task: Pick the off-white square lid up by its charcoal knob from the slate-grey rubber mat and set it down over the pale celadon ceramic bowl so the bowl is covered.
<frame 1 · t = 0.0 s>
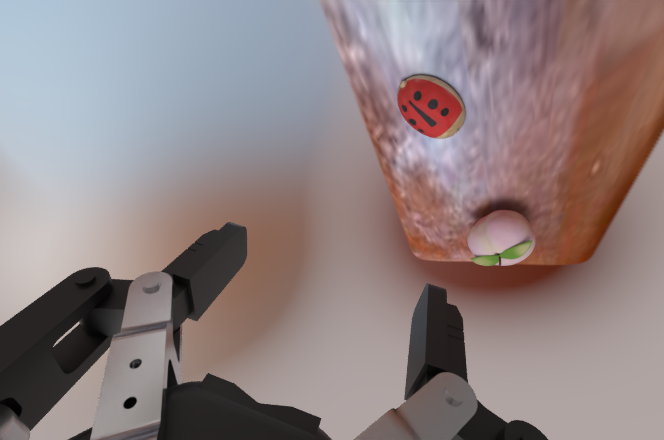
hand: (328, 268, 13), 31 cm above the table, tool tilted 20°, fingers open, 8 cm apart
ladybug figurine: (432, 102, 40), on the table
decorative fruit: (502, 212, 50), on the table
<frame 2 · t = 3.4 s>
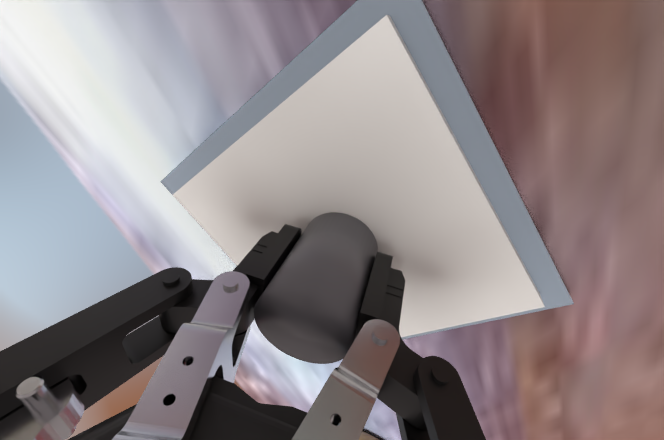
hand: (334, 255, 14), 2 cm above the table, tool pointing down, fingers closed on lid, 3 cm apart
lid: (344, 235, 15), point 1 cm above the table, touching gripper, mat
mat: (347, 229, 16), on the table
when the fingers open (9 cm above the table, at t = 8.8 s): lid drops 1 cm, resting on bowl.
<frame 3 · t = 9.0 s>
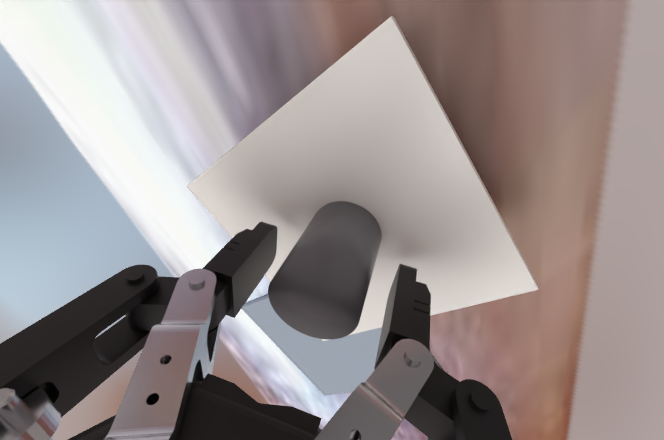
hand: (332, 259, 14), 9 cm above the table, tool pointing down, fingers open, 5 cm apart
lid: (349, 224, 16), point 6 cm above the table, touching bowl
mat: (339, 337, 31), on the table
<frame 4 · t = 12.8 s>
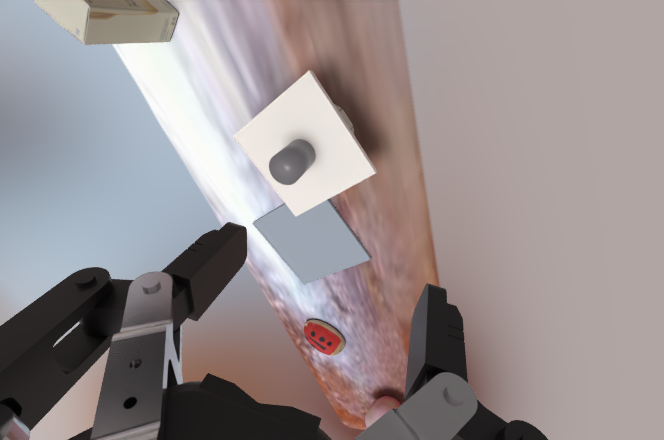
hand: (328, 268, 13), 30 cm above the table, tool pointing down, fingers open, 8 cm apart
ladybug figurine: (326, 331, 65), on the table
lid: (303, 151, 38), point 6 cm above the table, touching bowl
mat: (310, 238, 52), on the table
decorative fruit: (390, 396, 70), on the table
skincare box: (156, 10, 40), on the table
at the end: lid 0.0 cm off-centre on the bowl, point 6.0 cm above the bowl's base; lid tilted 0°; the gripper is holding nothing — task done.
